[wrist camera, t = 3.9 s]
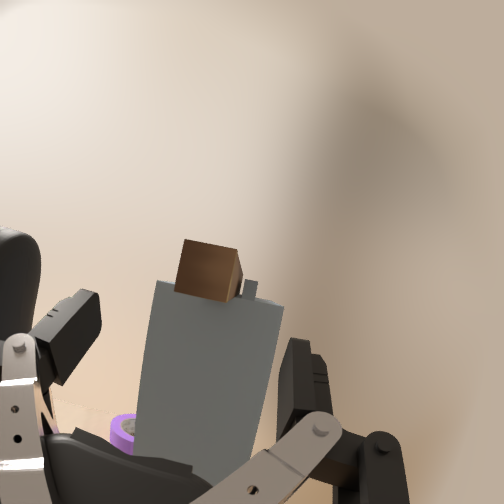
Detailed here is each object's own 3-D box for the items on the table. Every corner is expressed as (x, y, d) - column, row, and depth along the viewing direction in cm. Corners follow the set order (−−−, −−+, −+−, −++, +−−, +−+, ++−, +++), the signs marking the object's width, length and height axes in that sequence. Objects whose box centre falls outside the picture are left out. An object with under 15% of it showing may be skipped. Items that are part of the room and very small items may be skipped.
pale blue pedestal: (119, 552, 19) (145, 257, 23) (152, 487, 35) (185, 270, 39) (226, 578, 19) (302, 289, 23) (231, 505, 35) (280, 289, 39)
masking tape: (174, 464, 44) (176, 447, 44) (107, 454, 40) (108, 437, 41) (167, 433, 55) (169, 418, 55) (111, 425, 51) (113, 409, 52)
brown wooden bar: (173, 291, 14) (184, 238, 14) (219, 290, 38) (223, 270, 38) (226, 303, 14) (237, 249, 14) (239, 294, 38) (243, 274, 38)
